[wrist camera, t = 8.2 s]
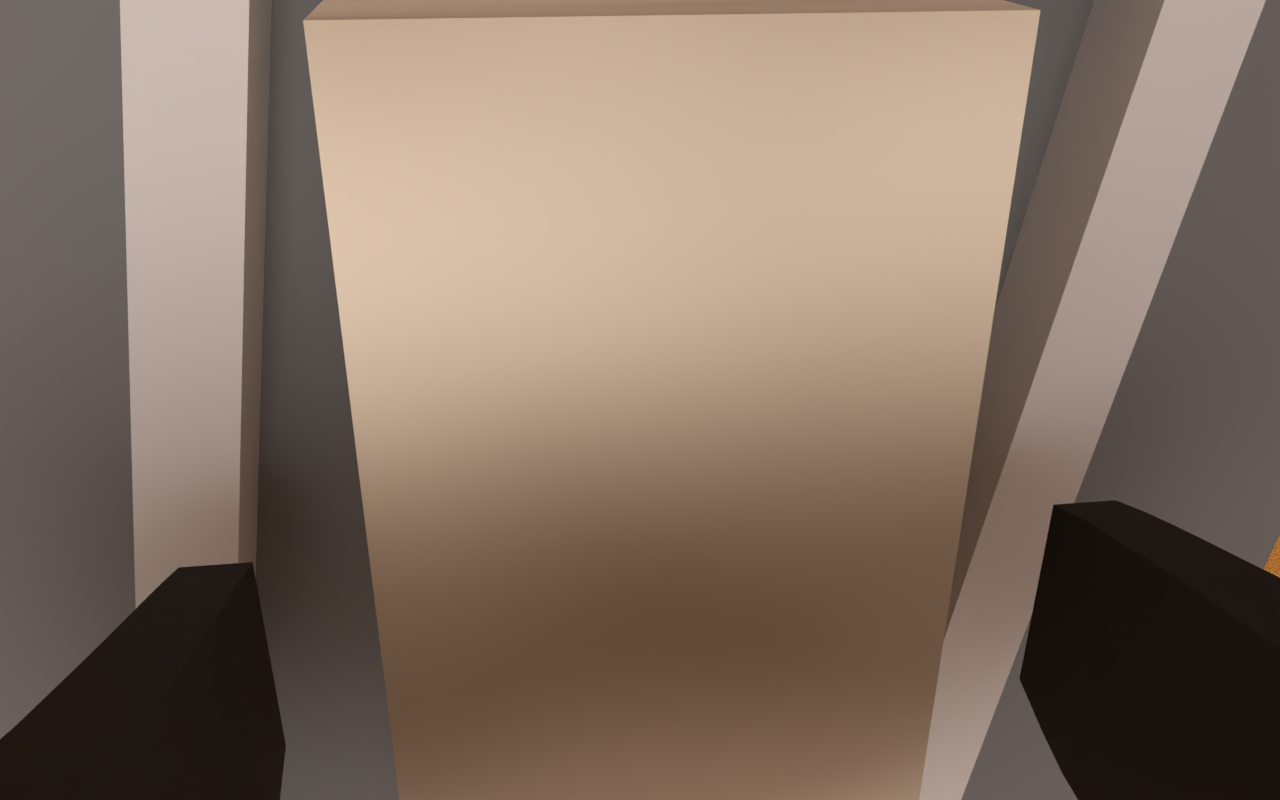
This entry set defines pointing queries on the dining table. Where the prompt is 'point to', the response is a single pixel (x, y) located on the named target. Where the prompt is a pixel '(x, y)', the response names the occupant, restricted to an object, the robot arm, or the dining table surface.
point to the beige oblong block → (665, 376)
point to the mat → (318, 388)
